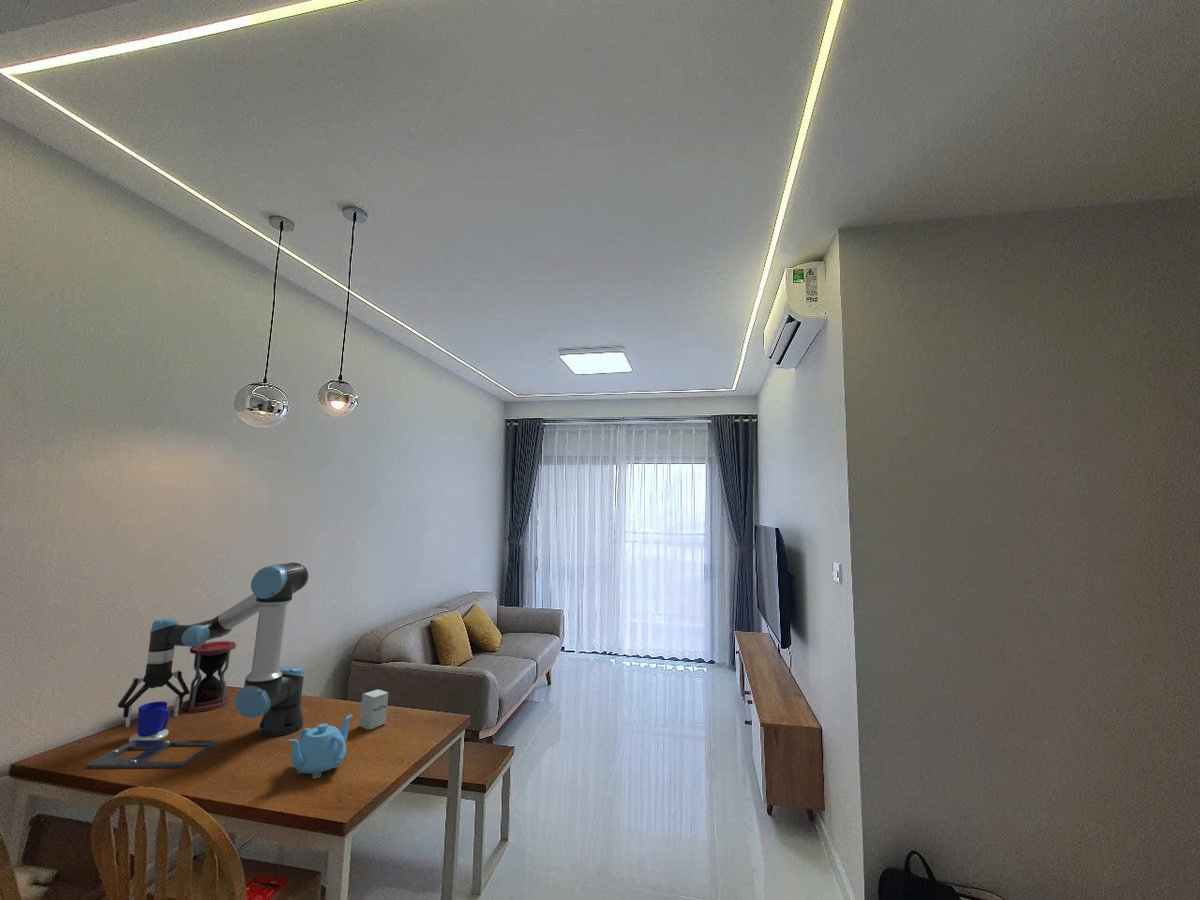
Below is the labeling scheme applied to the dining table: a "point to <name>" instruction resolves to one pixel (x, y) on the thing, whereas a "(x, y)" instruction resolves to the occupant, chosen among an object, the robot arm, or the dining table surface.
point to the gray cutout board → (149, 754)
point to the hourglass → (209, 676)
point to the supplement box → (373, 709)
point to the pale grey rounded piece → (152, 737)
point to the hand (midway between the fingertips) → (152, 720)
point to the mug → (152, 718)
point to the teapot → (320, 748)
